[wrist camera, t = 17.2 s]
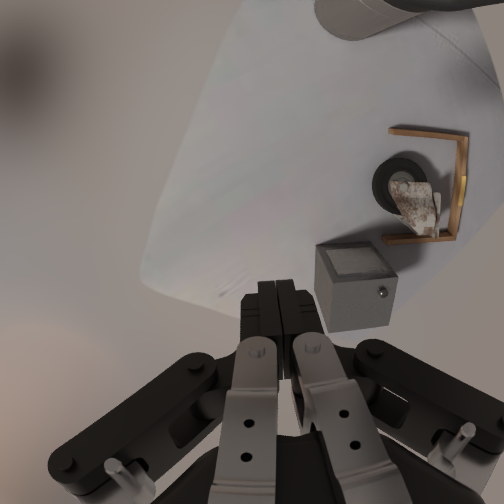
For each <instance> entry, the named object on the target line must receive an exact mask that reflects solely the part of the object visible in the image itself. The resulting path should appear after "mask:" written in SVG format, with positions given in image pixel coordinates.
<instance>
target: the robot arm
mask: <svg viewBox="0 0 504 504" xmlns="http://www.w3.org/2000/svg"><path fill="white" fill-rule="evenodd" d="M499 3H504V0H315V13H316V16H317V19H318V20H319V22H320V24H321V25H322V26H323V27H324V28H325V29H326V30H327V31H328V32H329V33H331V34H332V35H334V36H336V37H338V38H341V39H344V40H349V41H357V40H362V39H364V38H367V37H369V36H371V35H373V34H375V33H378V32H380V31H382V30H384V29H386V28H389V27H391V26H393V25H396V24H398V23H400V22H403V21H405V20H407V19H410V18H412V17H414V16H417V15H419V14H422V13H425V12H427V11H430V10H435V11H459V10H464V9H469V8H475V7H480V6H486V5H493V4H499ZM240 322H241V323H240V325H241V326H240V328H241V329H240V343H239V345H238V346H237V350H236V351H235V352H234V353H232V354H230V355H229V356H227V357H223V358H220V359H216V360H214V358H213V357H212V356H210V355H208V354H206V353H201V352H196V353H191V354H188V355H185V356H184V357H182V358H181V359H179V360H178V361H177V362H175V363H174V364H173V365H171V366H170V367H169V368H168V369H166V370H165V371H164V372H162V373H161V374H160V375H158V376H157V377H156V378H154V379H153V380H152V381H151V382H149V383H148V384H146V385H145V386H144V387H142V388H141V389H140V390H138V391H137V392H136V393H134V394H133V395H132V396H130V397H129V398H128V399H126V400H125V401H124V402H122V403H121V404H119V405H118V406H117V407H115V408H114V409H113V410H111V411H110V412H108V413H107V414H106V415H104V416H103V417H102V418H100V419H99V420H97V421H96V422H94V423H93V424H92V425H90V426H89V427H88V428H86V429H85V430H83V431H82V432H80V433H79V434H78V435H76V436H75V437H74V438H72V439H70V440H69V441H68V442H66V443H65V444H63V445H62V446H60V447H59V448H57V449H56V450H55V451H54V452H53V453H52V454H51V455H50V458H49V460H48V471H49V473H50V475H51V476H52V478H53V479H54V480H56V481H57V482H58V483H59V484H60V485H62V486H63V487H64V488H65V490H66V491H67V492H69V493H70V494H71V495H73V496H74V497H75V498H77V499H78V500H79V501H80V502H81V503H82V504H149V503H150V502H151V501H152V500H153V498H154V496H155V493H156V487H155V484H154V482H155V481H156V480H158V479H159V478H160V477H161V476H162V475H163V474H165V473H166V472H167V471H168V470H169V469H171V468H172V467H173V466H174V465H175V464H176V463H177V462H179V461H180V460H181V459H182V458H183V457H184V456H185V455H186V454H188V453H189V452H190V451H191V450H192V449H193V448H194V447H195V446H196V445H197V444H199V443H200V442H201V441H202V440H203V439H204V438H205V437H206V436H207V435H208V434H209V433H210V432H212V431H213V429H215V428H216V426H218V425H219V424H220V423H221V422H222V428H221V435H220V442H219V446H217V447H215V448H213V449H211V450H210V451H208V452H206V453H205V454H203V455H202V456H201V457H199V458H198V459H197V460H196V461H195V462H194V463H193V464H192V465H191V466H190V467H189V468H188V469H187V470H186V471H185V472H184V473H183V474H182V475H181V476H180V477H179V478H178V479H177V480H176V481H175V482H173V483H172V484H171V485H170V486H169V487H168V488H167V489H166V490H165V491H164V492H163V493H162V494H160V496H158V497H157V498H156V499H155V500H154V501H153V502H151V503H150V504H485V502H484V501H483V499H482V498H481V496H480V495H481V493H482V491H483V490H484V488H485V486H486V484H487V482H488V480H489V478H490V476H491V474H492V472H493V470H494V468H495V466H496V463H497V461H498V459H499V457H500V455H501V454H502V453H503V452H504V402H502V401H499V400H497V399H495V398H493V397H492V396H489V395H488V394H486V393H484V392H482V391H479V390H478V389H475V388H474V387H472V386H469V385H468V384H466V383H463V382H462V381H460V380H458V379H456V378H454V377H452V376H450V375H448V374H446V373H444V372H442V371H440V370H438V369H436V368H434V367H432V366H431V365H429V364H427V363H424V362H423V361H421V360H419V359H417V358H415V357H413V356H411V355H409V354H407V353H405V352H404V351H402V350H400V349H398V348H396V347H394V346H392V345H390V344H388V343H386V342H384V341H382V340H378V339H368V340H364V341H362V342H360V343H359V344H358V345H357V347H356V349H354V348H345V347H340V346H337V345H334V344H333V343H332V342H331V340H330V339H329V338H328V337H327V336H326V335H325V334H324V331H323V327H322V324H321V321H320V318H319V314H318V312H317V308H316V305H315V302H314V299H313V296H312V295H311V294H310V293H309V292H308V291H307V290H295V286H294V282H293V279H287V280H276V287H275V281H259V282H258V293H253V294H246V295H245V296H244V297H243V299H242V300H241V321H240ZM283 371H284V379H291V384H292V392H291V393H292V394H291V395H292V400H293V404H294V408H295V412H296V416H297V420H298V425H299V429H300V434H301V436H298V437H292V436H284V435H277V433H278V432H277V431H278V430H277V428H278V427H277V426H278V422H277V421H278V392H279V380H283ZM384 387H385V388H387V389H388V390H390V391H392V392H393V393H395V394H397V395H398V396H400V397H402V398H404V399H405V400H407V401H408V402H407V401H405V400H403V399H401V398H400V397H397V396H396V395H394V394H393V393H391V392H389V391H387V390H386V389H384ZM377 428H379V429H380V430H382V431H383V432H385V433H387V434H388V435H390V436H392V437H393V438H395V439H396V440H398V441H400V442H401V443H403V444H405V445H406V446H408V447H410V448H411V449H413V450H415V451H416V452H418V453H420V454H421V455H423V456H425V457H427V459H428V462H426V461H425V460H423V459H421V458H420V457H418V456H417V455H415V454H414V453H412V452H410V451H409V450H407V449H406V448H404V447H403V446H401V445H400V444H398V443H397V442H395V441H394V440H392V439H391V438H389V437H387V436H385V435H382V434H380V433H379V432H378V430H377Z"/></svg>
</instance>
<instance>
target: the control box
mask: <svg viewBox="0 0 504 504" xmlns="http://www.w3.org/2000/svg"><path fill="white" fill-rule="evenodd" d="M397 282H398V276H397V275H396V273H395V272H394V271H393V269H392V268H391V267H390V265H389V264H388V263H387V262H386V260H385V259H384V258H383V257H382V255H381V254H380V253H379V251H378V250H377V249H376V248H375V246H374V245H373V244H372V243H371V242H358V243H343V244H327V245H316V255H315V283H314V290H315V293H316V296H317V299H318V302H319V305H320V308H321V311H322V314H323V318H324V321H325V324H326V327H327V330H328V333H333V332H342V331H350V330H358V329H366V328H373V327H380V326H387V325H388V324H389V321H390V317H391V312H392V307H393V303H394V298H395V293H396V287H397Z"/></svg>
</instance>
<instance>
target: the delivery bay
mask: <svg viewBox="0 0 504 504" xmlns="http://www.w3.org/2000/svg"><path fill="white" fill-rule="evenodd" d="M389 134H393V135H403V136H416V137H428V138H438V139H447V140H456V141H457V153H456V166H455V177H454V187H453V195H452V203H451V210H450V217H449V223H448V229H447V232H439V238H438V240H437V239H435V238H433V237H432V236H430V235H416V234H415V233H413V234H395V235H383V236H382V240H383V241H384V243H385V244H386V245H397V244H411V243H426V242H441V241H455V240H456V236H457V230H458V225H459V219H460V212H461V206H463V199H464V192H465V184H466V176H465V173H466V162H467V149H468V137H466V136H462V135H456V134H448V133H440V132H431V131H421V130H409V129H396V128H389Z"/></svg>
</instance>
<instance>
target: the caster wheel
mask: <svg viewBox="0 0 504 504" xmlns="http://www.w3.org/2000/svg"><path fill="white" fill-rule="evenodd" d="M372 190H373V194H374V197H375V199H376V201H377V202H378V204H379V205H380V206H381V207H382V208H383V209H385V210H387V211H388V212H390V213H393V214H394V215H395V216H396V217H397V218H398V219H399V220H400V221H401V222H402V223H403V224H404V225H406V226H407V227H408V228H410V229H411V230H412V231H413V232H414V233H415V234H416V235H430V236H432V237H433V238H435V239H437V240H438V238H439V225H440V205H441V194H440V193H438V192H433V191H432V188H431V185H430V183H428V182H427V179H426V176H425V174H424V172H423V170H422V169H421V168H420V167H419V166H418V165H417V164H416V163H415V162H413V161H411V160H409V159H405V158H395V159H390V160H387V161H385V162H383V163H382V164H381V165H380V166H379V167H378V168H377V170H376V171H375V173H374V176H373V180H372Z"/></svg>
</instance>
